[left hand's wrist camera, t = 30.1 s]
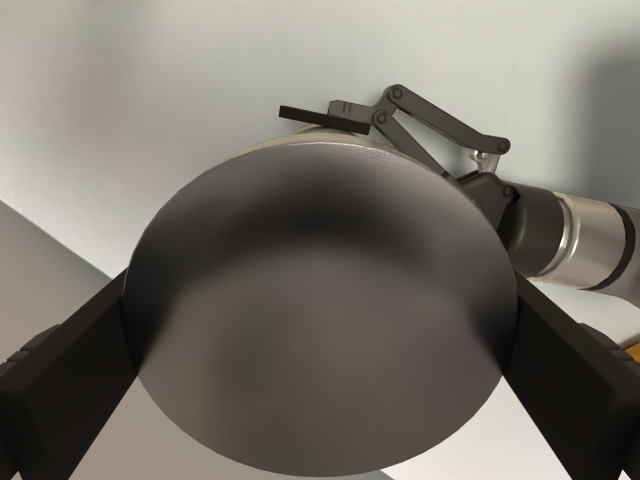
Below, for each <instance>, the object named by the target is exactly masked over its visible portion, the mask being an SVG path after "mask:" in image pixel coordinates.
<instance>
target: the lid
mask: <svg viewBox="0 0 640 480" xmlns="http://www.w3.org/2000/svg"><path fill="white" fill-rule="evenodd" d="M122 324H123V331H124V335H125V340H126V344H127V348H128V352H129V356H130V359H131V362H132V364H133V366H134V368H135V371H136V373H137V375H138V377H139V379H140V381H141V383H142V384H143V386H144V387H145V389H146V390H147V392H148V393H149V395H150V396H151V398H152V399H153V401H154V402H155V403H156V404H157V405H158V407H159V408H160V409H161V410H162V411H163V412H164V414H165V415H166V416H167V417H168V418H169V419H171V420H172V421H173V422H174V423H175V424H176V425H177V426H178V427H179V428H180V429H181V430H183V431H184V432H185V433H187V434H188V435H189V436H191V437H192V438H193V439H195V440H196V441H198V442H199V443H201V444H202V445H204V446H206V447H208V448H209V449H211V450H213V451H215V452H216V453H218V454H220V455H223V456H225V457H227V458H229V459H232V460H234V461H236V462H239V463H242V464H245V465H248V466H251V467H254V468H256V469H261V470H265V471H269V472H273V473H278V474H285V475H292V476H302V477H339V476H348V475H355V474H362V473H367V472H371V471H375V470H380V469H384V468H387V467H390V466H393V465H396V464H399V463H402V462H404V461H406V460H409V459H411V458H413V457H415V456H418V455H420V454H422V453H424V452H426V451H427V450H429V449H431V448H433V447H434V446H436V445H438V444H440V443H441V442H442V441H444V440H445V439H447V438H448V437H449V436H451V435H452V434H454V433H455V432H456V431H458V430H459V429H460V428H461V427H462V426H463V425H464V424H465V423H466V422H468V421H469V420H470V419H471V418H472V417H473V416H474V415H475V414H476V412H477V411H478V410H479V409H480V408H481V407H482V406H483V404H484V403H485V402H486V401H487V400H488V398H489V397H490V395H491V394H492V392H493V391H494V389H495V387H496V386H497V384H498V383H499V381H500V379H501V377H502V375H503V373H504V371H505V369H506V367H507V364H508V362H509V359H510V356H511V353H512V349H513V346H514V342H515V337H516V331H517V325H518V295H517V288H516V282H515V276H514V273H513V269H512V266H511V263H510V260H509V257H508V254H507V252H506V250H505V248H504V246H503V244H502V242H501V240H500V238H499V236H498V234H497V232H496V230H495V229H494V228H493V226H492V225H491V224H490V222H489V221H488V220H487V218H486V217H485V216H484V214H483V213H482V211H481V210H480V209H479V208H478V207H477V206H476V205H475V204H474V203H473V202H472V201H471V200H470V199H469V198H468V197H467V196H466V195H465V194H464V193H463V192H462V191H461V190H460V189H458V188H457V187H455V186H454V185H453V184H451V183H450V182H449V181H447V180H446V179H444V178H443V177H442V176H440V175H439V174H438V173H436V172H434V171H433V170H431V169H429V168H428V167H426V166H425V165H423V164H421V163H420V162H418V161H416V160H415V159H413V158H411V157H409V156H407V155H405V154H404V153H402V152H400V151H398V150H396V149H394V148H392V147H389V146H386V145H383V144H381V143H378V142H375V141H372V140H369V139H364V138H360V137H355V136H350V135H345V134H331V133H309V134H295V135H290V136H285V137H280V138H275V139H271V140H268V141H265V142H262V143H259V144H256V145H254V146H251V147H248V148H246V149H244V150H242V151H240V152H238V153H236V154H234V155H233V156H231V157H229V158H227V159H225V160H223V161H222V162H220V163H219V164H217V165H215V166H214V167H212V168H210V169H209V170H207V171H205V172H204V173H202V174H201V175H200V176H198V177H197V178H195V179H194V180H193V181H191V182H190V183H188V184H187V185H186V186H184V187H183V188H182V189H180V190H179V191H178V192H177V193H176V194H175V195H174V196H173V197H172V198H171V199H170V200H169V201H168V202H167V203H166V204H165V205H164V206H163V207H162V208H161V209H160V210H159V211H158V213H157V214H156V215H155V217H154V218H153V219H152V221H151V222H150V223H149V225H148V226H147V227H146V229H145V230H144V232H143V234H142V236H141V238H140V240H139V242H138V244H137V246H136V247H135V249H134V251H133V254H132V257H131V260H130V263H129V266H128V269H127V272H126V276H125V282H124V288H123V294H122Z"/></svg>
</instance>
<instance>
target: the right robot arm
mask: <svg viewBox="0 0 640 480" xmlns="http://www.w3.org/2000/svg"><path fill="white" fill-rule="evenodd" d="M396 108H397V109H399V110H401V111H402V112H404V113H406V114H407V115H409V116H411V117H412V118H414V119H416V120H418V121H419V122H421V123H423V124H424V125H426V126H428V127H429V128H431V129H433V130H434V131H436V132H438V133H439V134H441V135H443V136H444V137H446V138H448V139H449V140H451V141H453V142H454V143H456V144H458V145H460V146H463V147H465V148H469V157H470V159H471V160H474V161H475V162H476V163H477V164H478V170H475V171H473V172H471V173H468V174H466V175H464V176H461V177H459V178H457V179H454V178H453V177H452V176H451V175H450V174H449V173H448V172H447V171H445V170H444V169H443V168H442V167H441V166H440V165H439V164H438V163H437V162H436V161H435V160H434V159H433V157H432V156H431V155H430V154H429V153H428V152H427V151H426V150H425V149H424V148H423V147H422V146H421V145H420V144H419V143H418V142H417V141H416V140H415V139H414V138H413V137H412V136H411V135H410V134H409V133H408V132H407V131H406V130H405V129H404V128H403V127H402V126H401V125H400V124H399V123H398V122H397V121H396V120H395V119H394V118H393V117H392V115H393V113H394V112H395V110H396ZM279 117H282V118H287V119H292V120H297V121H302V122H306V123H311V124H316V125H321V126H326V127H330V128H335V129H340V130H345V131H349V132H354V133H359V134H364V135H368V134H369V130H370V125H373V126H374V127H375V128H376V129H377V130H378V131H379V132H380V133H381V134H382V135H383V136H384V137H385V138H386V139H387V140H388V141H389V142H390V143H391V144H392V145H393V146H394V147H395V148H396V149H397V150H398V151H400V152H402V153H404V154H405V155H407V156H409V157H411V158H413V159H415V160H416V161H418V162H420V163H421V164H423V165H425V166H426V167H428V168H429V169H431V170H433V171H434V172H436V173H438V174H439V175H440V176H442V177H443V178H444V179H446V180H447V181H449V182H450V183H451V184H453V185H454V186H455V187H457V188H458V189H460V190H461V191H462V192H463V193H464V194H465V195H466V196H467V197H468V198H469V199H470V200H471V201H472V202H473V203H474V204H475V205H476V206H477V207H478V208H479V209H480V210H481V211H482V213H483V214H484V216H485V217H486V218H487V220H488V221H489V222H490V224H491V225H492V226H493V228H494V229H495V230H496V232H497V234H498V236H499V238H500V240H501V242H502V244H503V246H504V248H505V250H506V252H507V254H508V257H509V260H510V263H511V266H512V267H513V268H514V269H515V270H517V271H518V272H519V273H520V274H521V275H522V276H524V277H525V278H528V279H530V280H532V281H536V282H542V283H548V284H554V285H560V286H566V287H571V288H577V289H581V290H587V291H592V292H597V293H602V294H607V295H612V296H616V297H619V298H622V299H624V300H626V301H628V302H630V303H632V304H633V305H635V306H636V307H638V308H639V309H640V209H635V208H629V207H624V206H619V205H614V204H611V203H607V202H602V201H598V200H593V199H588V198H583V197H579V196H574V195H569V194H565V193H559V192H550V191H548V190H546V189H541V188H536V187H531V186H527V185H522V184H517V183H512V182H507V181H503V180H501V179H499V178H498V177H497V176H496V175H495V171H496V168H497V164H498V161H499V158H500V155H503V154H505V153H507V152H508V151H509V149H510V145H511V144H510V141H509V140H508V139H506V138H502V137H496V136H490V135H484V134H481V133H479V132H477V131H476V130H474V129H473V128H471V127H469V126H468V125H466V124H464V123H463V122H461V121H459V120H458V119H456V118H455V117H453V116H451V115H450V114H448V113H446V112H445V111H443V110H441V109H440V108H438V107H437V106H435V105H433V104H432V103H430V102H428V101H427V100H425V99H423V98H422V97H420V96H419V95H417V94H415V93H414V92H412V91H410V90H409V89H407V88H406V87H404V86H402V85H399V84H397V85H392V86H389V87H387V88H386V89H385V90H384V93H383V95H382V97H381V98H380V100H379V101H378V103H377V104H376V105H374V106H372V107H368V106H364V105H359V104H354V103H350V102H345V101H340V100H335V101H330V103H329V108H328V113H327V115H326V114H321V113H317V112H312V111H307V110H303V109H298V108H293V107H288V106H280V111H279Z"/></svg>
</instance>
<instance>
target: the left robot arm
mask: <svg viewBox="0 0 640 480" xmlns="http://www.w3.org/2000/svg"><path fill="white" fill-rule="evenodd" d="M127 269H128V267H127V268H126V269H125V270H124V271H123V272H121V273H120V274H119V275H118V276H117V277H116V278H114V279H113V280H112V281H111V282H110V283H109V284H107V285H106V286H105V287H104V288H103V289H102V290H101V291H99V292H98V293H97V294H96V295H95V296H94V297H92V298H91V299H90V300H89V301H88V302H87V303H85V304H84V305H83V306H82V307H81V308H80V309H79V310H77V311H76V312H75V313H74V314H73V315H72V316H70V317H69V318H68V319H67V320H66V321H65V322H63V323H62V324H57V325H55V326H53V327H51V328H49V329H47V330H45V331H44V332H42V333H40V334H38V335H36V336H35V337H34V338H32V339H31V340H30V341H29V342H28V343H26V344H25V345H24V346H23V347H22V348H20V351H17V352H16V353H14V354H13V355H12V356H11V357H9V358H8V359H7V362H5V363H2V364H1V365H0V480H11V479H12V478H13V476H14V475H15V474H16V473H17V472H18V471H19V473H20V475H21V478H22V480H68V479H69V478H70V476H71V475H72V473H73V472H74V470H75V469H76V467H77V466H78V464H79V462H80V461H81V460H82V458H83V457H84V455H85V454H86V452H87V451H88V449H89V448H90V446H91V444H92V443H93V441H94V440H95V438H96V437H97V435H98V434H99V432H100V431H101V429H102V428H103V426H104V425H105V423H106V422H107V420H108V419H109V417H110V416H111V414H112V413H113V411H114V410H115V408H116V407H117V405H118V404H119V402H120V401H121V399H122V398H123V396H124V395H125V393H126V392H127V390H128V389H129V387H130V386H131V384H132V383H133V381H134V380H135V378H136V377H137V373H136V371H135V368H134V366H133V364H132V362H131V359H130V356H129V352H128V348H127V344H126V340H125V335H124V331H123V324H122V294H123V288H124V282H125V276H126V272H127ZM512 269H513V273H514V276H515V282H516V288H517V295H518V325H517V331H516V337H515V342H514V346H513V349H512V353H511V356H510V359H509V362H508V364H507V367H506V369H505V371H504V373H503V376H504V378H505V379H506V381H507V383H508V384H509V386H510V387H511V389H512V390H513V392H514V393H515V395H516V396H517V398H518V399H519V401H520V402H521V404H522V405H523V407H524V408H525V410H526V411H527V413H528V414H529V416H530V417H531V419H532V420H533V422H534V423H535V425H536V426H537V428H538V429H539V431H540V432H541V434H542V435H543V437H544V438H545V440H546V441H547V443H548V444H549V446H550V447H551V449H552V450H553V452H554V453H555V455H556V456H557V458H558V459H559V461H560V462H561V464H562V465H563V467H564V468H565V470H566V471H567V473H568V474H569V476H570V477H571V479H572V480H618V479H619V476H620V474H621V472H622V469H623V470H624V472H625V473H626V474H627V475H628V476H629V478H630V479H631V480H640V363H639V362H638V361H634V358H633V357H632V356H631V355H629V354H628V353H627V352H626V351H625V350H621V347H620V346H618V345H617V344H616V343H615V342H614V341H612V340H611V339H610V338H609V337H607V336H606V335H605V334H603V333H601V332H599V331H598V330H596V329H594V328H592V327H590V326H588V325H586V324H584V323H577V322H576V321H574V320H573V319H572V318H571V317H570V316H569V315H568V314H566V313H565V312H564V311H563V310H562V309H561V308H559V307H558V306H557V305H556V304H555V303H554V302H552V301H551V300H550V299H549V298H548V297H547V296H546V295H544V294H543V293H542V292H541V291H540V290H539V289H537V288H536V287H535V286H534V285H533V284H532V283H530V282H529V281H528V280H527V279H526V278H525V277H524V276H522V275H521V274H520V273H519V272H518V271H517V270H515V269H514V268H513V267H512Z"/></svg>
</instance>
